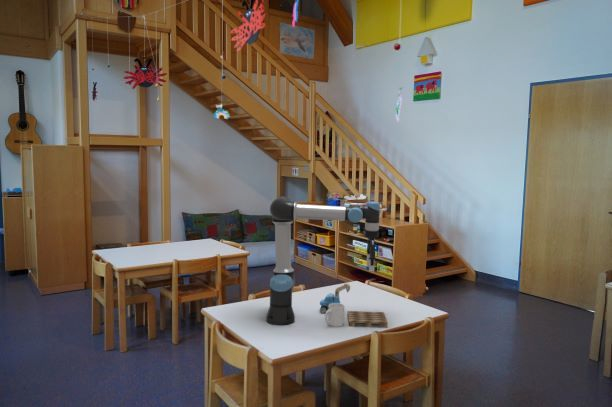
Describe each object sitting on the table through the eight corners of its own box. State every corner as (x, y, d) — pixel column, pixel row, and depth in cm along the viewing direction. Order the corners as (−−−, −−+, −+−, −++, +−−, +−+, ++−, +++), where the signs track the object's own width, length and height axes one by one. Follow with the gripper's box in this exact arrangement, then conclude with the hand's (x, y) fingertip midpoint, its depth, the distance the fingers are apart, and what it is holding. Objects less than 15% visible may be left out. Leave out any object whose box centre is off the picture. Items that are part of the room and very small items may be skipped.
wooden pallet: (348, 326, 256) (349, 320, 255) (347, 316, 272) (347, 310, 271) (387, 327, 255) (387, 321, 255) (383, 317, 271) (383, 312, 271)
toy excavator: (348, 316, 272) (349, 285, 270) (318, 313, 275) (319, 283, 274) (349, 311, 280) (350, 281, 279) (321, 308, 284) (321, 279, 282)
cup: (347, 324, 258) (347, 305, 257) (330, 329, 250) (331, 310, 249) (335, 320, 264) (336, 302, 263) (319, 325, 256) (320, 306, 255)
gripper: (381, 233, 255) (379, 274, 257) (376, 226, 280) (374, 263, 282) (367, 233, 255) (365, 273, 258) (362, 226, 280) (361, 263, 282)
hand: (370, 268), depth 270 cm, fingers open, 13 cm apart
